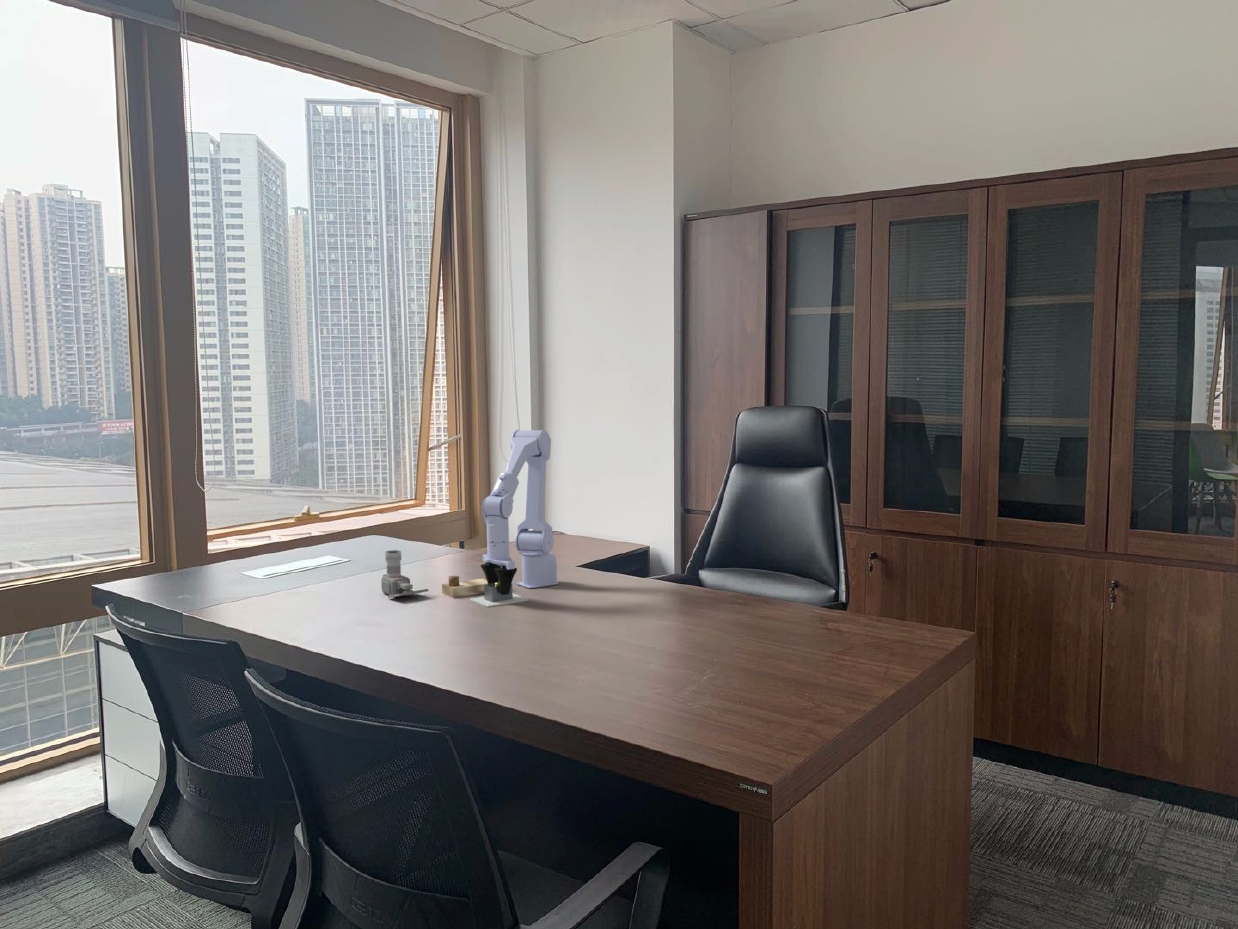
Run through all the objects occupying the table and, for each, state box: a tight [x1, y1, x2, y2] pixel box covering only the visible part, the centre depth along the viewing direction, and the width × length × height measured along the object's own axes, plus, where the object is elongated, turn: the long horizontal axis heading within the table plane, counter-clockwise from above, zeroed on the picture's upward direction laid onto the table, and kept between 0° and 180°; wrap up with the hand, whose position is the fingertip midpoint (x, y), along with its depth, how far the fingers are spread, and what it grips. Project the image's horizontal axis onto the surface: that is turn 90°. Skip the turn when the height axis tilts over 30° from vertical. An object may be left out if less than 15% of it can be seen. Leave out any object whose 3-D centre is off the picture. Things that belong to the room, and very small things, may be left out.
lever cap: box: [483, 582, 514, 602], centre depth 246 cm, size 6×4×4 cm
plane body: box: [441, 575, 488, 599], centre depth 257 cm, size 15×7×6 cm, turn 125°
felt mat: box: [470, 592, 529, 608], centre depth 246 cm, size 12×10×1 cm
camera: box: [380, 549, 430, 599], centre depth 253 cm, size 9×12×15 cm
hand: (499, 592), depth 246 cm, fingers open, 6 cm apart
